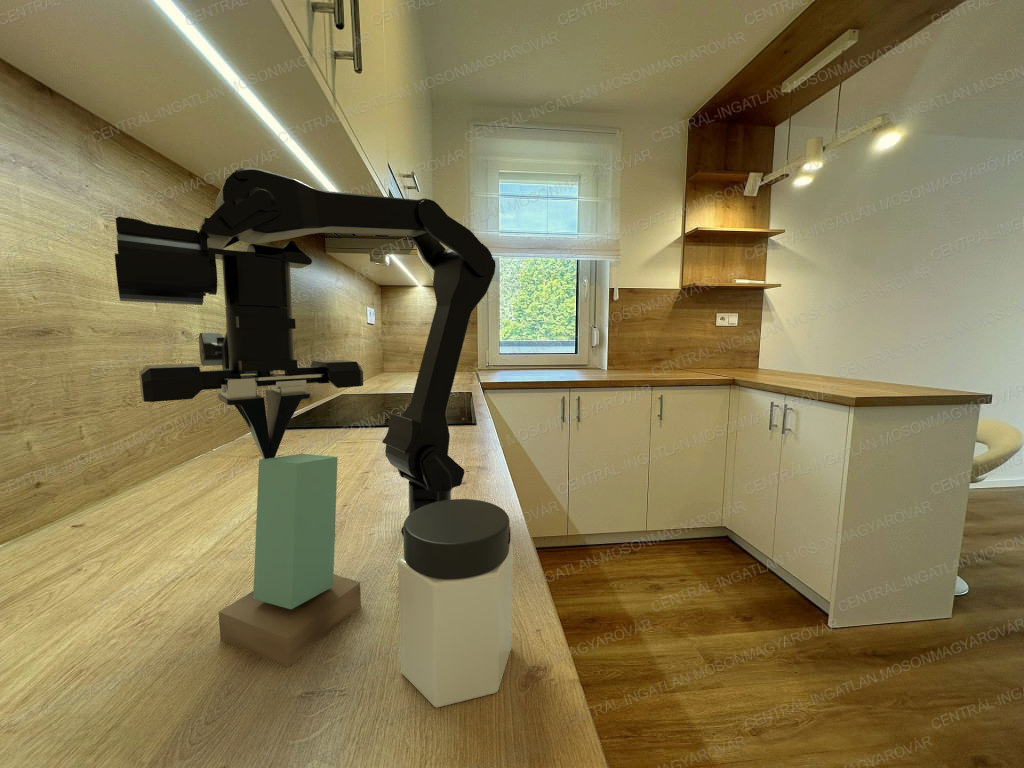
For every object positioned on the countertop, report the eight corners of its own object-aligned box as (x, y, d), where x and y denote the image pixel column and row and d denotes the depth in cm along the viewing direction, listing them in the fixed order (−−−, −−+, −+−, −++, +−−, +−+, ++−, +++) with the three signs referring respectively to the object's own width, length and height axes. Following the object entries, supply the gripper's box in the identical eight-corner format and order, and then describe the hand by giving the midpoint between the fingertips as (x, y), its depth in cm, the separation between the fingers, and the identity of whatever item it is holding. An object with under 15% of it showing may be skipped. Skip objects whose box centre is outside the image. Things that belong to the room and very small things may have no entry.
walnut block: (299, 591, 43) (298, 563, 42) (361, 611, 40) (360, 582, 39) (220, 644, 35) (218, 611, 35) (288, 673, 32) (286, 638, 32)
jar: (533, 662, 33) (536, 519, 32) (454, 732, 27) (452, 560, 26) (461, 611, 39) (461, 489, 38) (383, 659, 33) (379, 517, 32)
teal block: (297, 578, 40) (301, 453, 40) (333, 586, 38) (337, 456, 39) (253, 598, 36) (258, 459, 36) (291, 609, 34) (296, 463, 34)
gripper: (326, 315, 53) (330, 432, 55) (131, 306, 40) (145, 460, 42) (363, 311, 45) (367, 449, 47) (134, 299, 32) (152, 489, 34)
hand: (268, 459), depth 43 cm, fingers closed
